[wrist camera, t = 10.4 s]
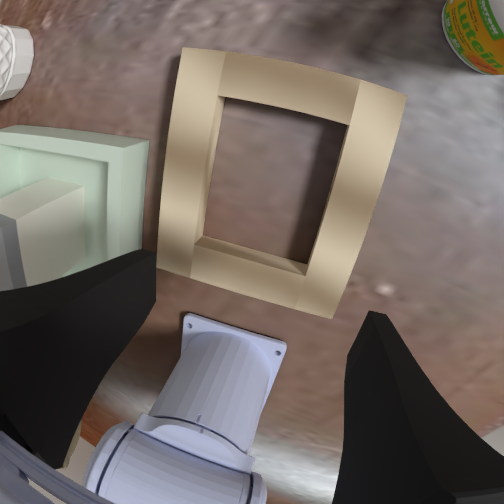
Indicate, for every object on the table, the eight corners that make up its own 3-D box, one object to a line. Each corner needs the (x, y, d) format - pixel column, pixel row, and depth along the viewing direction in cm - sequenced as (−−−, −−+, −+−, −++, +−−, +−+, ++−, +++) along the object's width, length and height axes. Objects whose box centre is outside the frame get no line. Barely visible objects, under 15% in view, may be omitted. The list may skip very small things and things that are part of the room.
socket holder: (332, 305, 21) (331, 319, 20) (165, 257, 23) (156, 267, 21) (401, 96, 15) (407, 95, 13) (193, 50, 16) (182, 47, 15)
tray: (141, 312, 26) (123, 334, 23) (28, 264, 27) (9, 278, 25) (149, 140, 19) (123, 148, 16) (18, 124, 21) (-8, 131, 18)
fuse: (86, 257, 24) (19, 311, 17) (52, 244, 24) (-13, 290, 17) (84, 186, 21) (1, 227, 14) (48, 177, 21) (-30, 213, 14)
